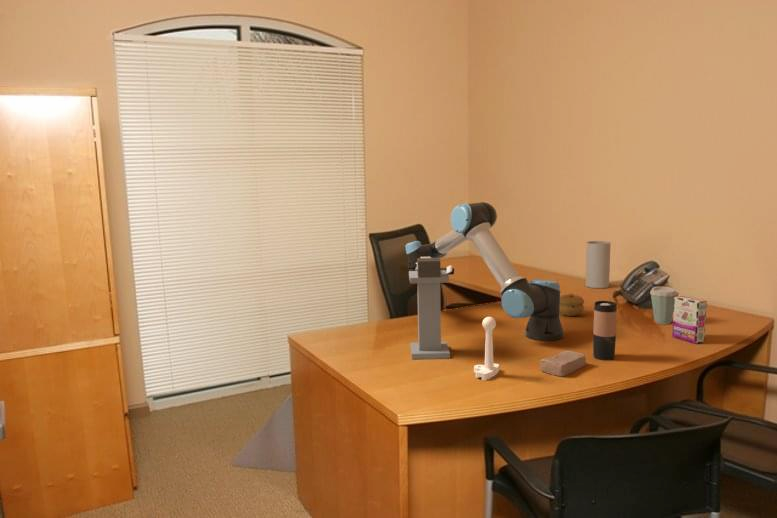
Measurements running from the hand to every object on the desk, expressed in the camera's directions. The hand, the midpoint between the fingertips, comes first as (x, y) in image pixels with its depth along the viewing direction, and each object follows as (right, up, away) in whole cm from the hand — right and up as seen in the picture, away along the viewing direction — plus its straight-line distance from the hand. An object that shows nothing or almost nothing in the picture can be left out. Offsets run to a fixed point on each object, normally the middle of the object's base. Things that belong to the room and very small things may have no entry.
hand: (435, 266), depth 244 cm
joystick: (+13, -36, -45) cm, 59 cm away
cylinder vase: (+98, -13, +87) cm, 132 cm away
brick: (+41, -35, -42) cm, 68 cm away
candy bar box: (+98, -29, -13) cm, 103 cm away
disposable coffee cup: (+99, -25, +12) cm, 103 cm away
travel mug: (+58, -33, -31) cm, 74 cm away
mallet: (-5, -2, -20) cm, 21 cm away
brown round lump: (+65, -23, +28) cm, 74 cm away
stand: (-4, -32, -20) cm, 38 cm away
